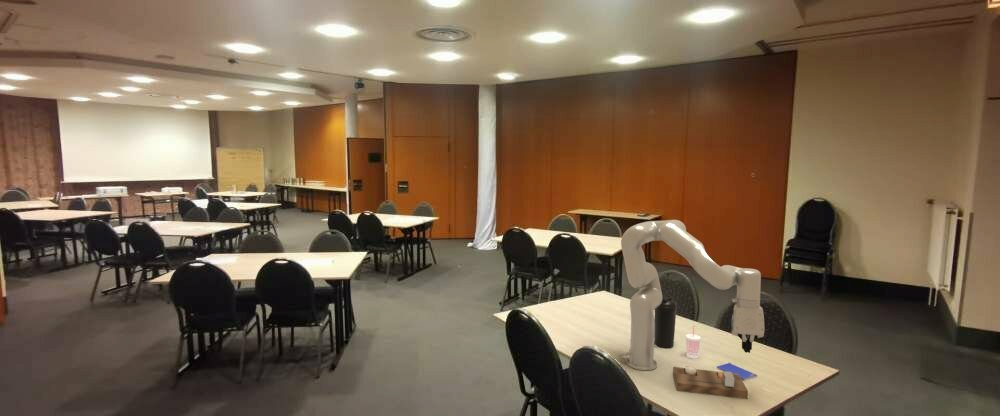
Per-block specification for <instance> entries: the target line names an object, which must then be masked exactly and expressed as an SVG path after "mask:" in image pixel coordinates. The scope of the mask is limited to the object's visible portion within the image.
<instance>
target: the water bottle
mask: <svg viewBox="0 0 1000 416" xmlns="http://www.w3.org/2000/svg"><path fill="white" fill-rule="evenodd" d="M673 298H674V296H671V295H669V294H668V295H667V294H662V302H661V304H660V305H659V306H658V307H657V308H656V309H655V310H654V320H655V334H654V346H656V347H658V348H660V349H672V348H674V346H675V345H674V343H675V332H676V319H677V316H676V315H677V310H678V304H677V303H676V301H675V300H673Z"/></svg>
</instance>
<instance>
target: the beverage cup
mask: <svg viewBox="0 0 1000 416" xmlns="http://www.w3.org/2000/svg"><path fill="white" fill-rule="evenodd" d="M701 339H702V338H701V336H700V335H697V334H695V325H693V326H692V333H687V334H686V335H685V340H686V343H685V344H686V345H685V346H686V357H688V358H689V359H698V357H699V351H700V350H699V349H700V342H701Z"/></svg>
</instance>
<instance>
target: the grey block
mask: <svg viewBox="0 0 1000 416" xmlns="http://www.w3.org/2000/svg"><path fill="white" fill-rule="evenodd" d="M721 372H722V381H723V383H724V385H725V386H728V387H734V376H733V375H732V373H731V372H726V371H721Z"/></svg>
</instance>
